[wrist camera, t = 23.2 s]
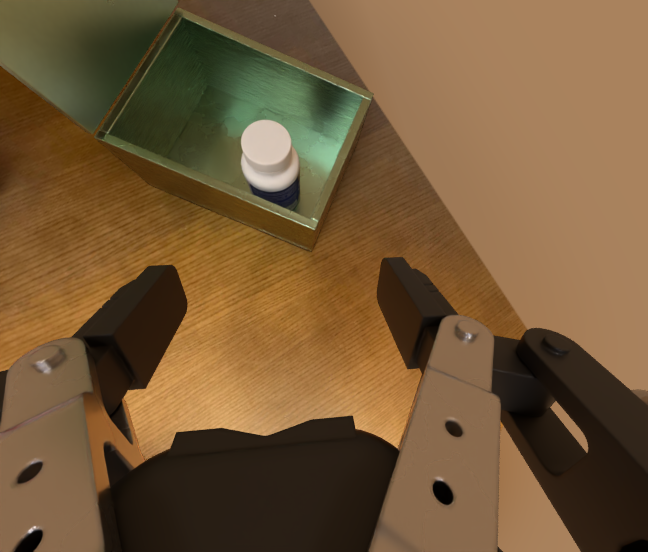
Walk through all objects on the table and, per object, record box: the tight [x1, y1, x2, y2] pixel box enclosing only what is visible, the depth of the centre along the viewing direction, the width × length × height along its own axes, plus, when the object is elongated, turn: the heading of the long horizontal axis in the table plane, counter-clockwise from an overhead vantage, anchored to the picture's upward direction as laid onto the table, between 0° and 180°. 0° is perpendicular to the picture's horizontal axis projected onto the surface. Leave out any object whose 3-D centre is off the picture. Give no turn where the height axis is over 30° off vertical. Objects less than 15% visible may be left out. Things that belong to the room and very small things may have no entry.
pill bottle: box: [241, 120, 300, 211], centre depth 24 cm, size 5×5×9 cm
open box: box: [95, 7, 374, 252], centre depth 26 cm, size 20×15×8 cm
